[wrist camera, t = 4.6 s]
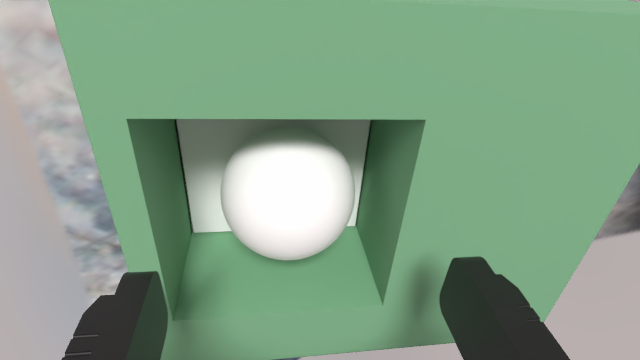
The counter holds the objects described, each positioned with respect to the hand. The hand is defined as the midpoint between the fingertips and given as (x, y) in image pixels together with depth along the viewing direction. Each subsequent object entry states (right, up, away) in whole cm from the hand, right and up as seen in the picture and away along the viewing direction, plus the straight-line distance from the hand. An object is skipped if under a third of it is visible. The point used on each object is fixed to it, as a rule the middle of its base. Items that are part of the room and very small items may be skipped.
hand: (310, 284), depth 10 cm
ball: (-1, +2, +4) cm, 5 cm away
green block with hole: (+2, +4, +7) cm, 8 cm away
